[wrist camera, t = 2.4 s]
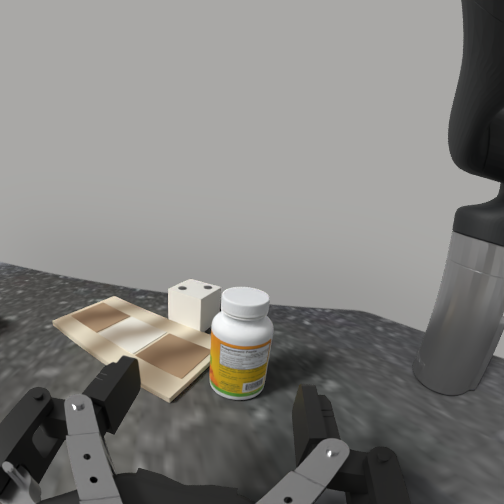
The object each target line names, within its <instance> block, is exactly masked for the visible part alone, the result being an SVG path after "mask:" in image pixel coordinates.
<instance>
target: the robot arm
mask: <svg viewBox="0 0 504 504" xmlns="http://www.w3.org/2000/svg"><path fill="white" fill-rule="evenodd" d="M461 1H462V12H463V32H464V42H463V43H464V44H463V59H462V66H461V71H460V76H459V80H458V85H457V89H456V93H455V97H454V101H453V105H452V110H451V114H450V120H449V129H448V144H449V150H450V154H451V157H452V159H453V161H454V163H455V164H456V165H457V166H458V167H459V168H460V169H462V170H464V171H466V172H468V173H470V174H473V175H477V176H480V177H484V178H487V179H491V180H494V181H497V182H501V184H500V190H499V194H498V196H497V197H496V198H494V199H493V200H491V201H489V202H486V203H482V204H477V205H468V206H463V207H460V208H458V209H457V211H456V213H455V218H454V224H453V231H452V236H451V241H450V246H449V251H448V256H447V260H446V265H445V269H444V273H443V277H442V281H441V285H440V289H439V292H438V296H437V299H436V302H435V306H434V309H433V312H432V315H431V318H430V321H429V324H428V327H427V330H426V332H425V335H424V338H423V341H422V343H421V346H420V348H419V350H418V353H417V356H416V358H415V361H414V363H413V372H414V374H415V376H416V377H417V379H418V380H419V381H420V382H421V383H422V384H423V385H425V386H426V387H428V388H429V389H431V390H433V391H435V392H438V393H441V394H445V395H460V394H463V393H465V392H466V391H468V390H475V389H476V387H477V385H478V383H479V382H480V380H481V378H482V376H483V374H484V372H485V370H486V368H487V366H488V364H489V362H490V360H491V358H492V356H493V353H494V351H495V348H496V347H497V344H498V342H499V339H500V337H501V335H502V332H503V330H504V317H503V313H504V0H461ZM140 387H141V378H140V371H139V362H138V359H136V358H132V357H129V356H125V355H123V356H122V357H121V358H120V359H119V360H118V362H117V363H115V362H112V363H110V364H108V365H106V366H105V367H104V368H103V369H102V370H101V371H100V373H99V374H98V375H97V376H96V378H95V379H94V380H93V381H92V382H91V383H90V385H89V386H88V387H87V388H86V389H85V391H84V392H83V393H82V394H74V395H71V396H69V397H68V398H67V399H66V400H63V399H57V398H52V397H51V395H50V393H49V391H48V390H47V389H45V388H42V387H36V388H32V389H30V390H29V391H28V392H27V393H26V394H25V395H24V397H23V398H22V399H21V400H20V401H19V402H18V403H17V404H16V406H15V407H14V408H13V409H12V410H11V411H10V413H9V414H8V415H7V416H6V417H5V418H4V420H3V421H2V422H1V423H0V504H314V503H315V502H316V501H317V499H318V498H319V497H320V496H321V494H322V493H323V492H324V491H325V489H326V488H328V489H333V490H338V491H344V492H345V493H346V501H347V504H411V502H410V499H409V495H408V492H407V488H406V485H405V481H404V478H403V475H402V472H401V469H400V465H399V462H398V459H397V456H396V454H395V453H394V452H393V451H392V450H391V449H389V448H387V447H375V448H373V449H371V450H370V451H369V453H366V452H359V451H354V450H351V449H349V447H348V446H347V444H346V443H345V442H343V441H341V439H340V436H339V432H338V428H337V424H336V420H335V417H334V413H333V411H332V410H333V409H332V405H331V402H330V401H329V400H328V398H327V397H326V396H325V395H318V393H317V389H316V386H315V385H305V384H300V385H299V388H298V391H297V395H296V398H295V402H294V405H293V410H292V421H293V432H294V444H295V455H296V468H297V469H296V470H294V471H293V470H292V471H290V472H289V473H288V474H287V475H286V476H285V477H284V478H283V479H282V480H281V481H280V482H279V483H278V484H277V485H276V486H275V487H274V488H272V489H271V490H270V491H269V492H268V493H267V494H266V495H265V496H264V497H263V498H261V499H260V500H259V501H258V502H257V503H255V502H254V501H252V500H250V499H249V498H246V497H244V496H241V495H238V494H237V490H238V488H229V487H222V486H215V485H183V484H181V483H179V482H177V481H174V480H172V479H170V478H168V477H166V476H164V475H162V474H158V473H155V472H151V471H148V470H144V469H141V468H138V470H137V473H121V474H117V472H116V470H115V468H114V465H113V462H112V459H111V457H110V454H109V451H108V447H107V444H106V441H105V438H104V435H105V434H106V432H109V433H111V434H115V432H116V431H117V429H118V427H119V426H120V424H121V422H122V420H123V419H124V417H125V415H126V413H127V412H128V410H129V408H130V407H131V405H132V403H133V402H134V400H135V398H136V396H137V395H138V393H139V391H140ZM39 426H40V427H39ZM38 427H39V428H38ZM36 430H37V431H36ZM34 433H35V434H34ZM64 440H66V442H67V447H68V453H69V458H70V463H71V467H72V471H73V476H74V480H75V483H76V487H77V490H74V491H71V492H68V493H65V494H62V495H59V496H55V497H52V498H49V499H45V500H42V501H41V497H40V496H41V488H40V486H39V483H40V481H41V479H42V477H43V476H44V474H45V472H46V470H47V469H48V467H49V465H50V464H51V462H52V460H53V458H54V457H55V455H56V453H57V452H58V450H59V448H60V447H61V445H62V443H63V442H64Z"/></svg>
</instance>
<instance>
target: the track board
mask: <svg viewBox="0 0 504 504" xmlns="http://www.w3.org/2000/svg"><path fill="white" fill-rule="evenodd" d="M52 322H53V325H54V326H55V327H56V328H57V329H59V330H60V331H61V332H62V333H64V334H65V335H66V336H67V337H69V338H70V339H71V340H72V341H74V342H75V343H76V344H78V345H79V346H80V347H82V348H83V349H84V350H86V351H87V352H88V353H90V354H91V355H92V356H94V357H95V358H97V359H98V360H99V361H101V362H102V363H104V364H105V365H108V364H110V363H112V362H115V363H117V362H118V360H119V359H120V358H121V357H122V356H123V355H125V356H129V357H132V358H136V359H138V362H139V371H140V378H141V387H142V388H144V389H145V390H147V391H149V392H150V393H152V394H154V395H156V396H158V397H160V398H161V399H163V400H165V401H167V402H169V403H170V402H171V401H172V400H173V399H175V398H176V397H177V396H178V395H179V394H180V393H181V392H182V391H183V390H184V389H185V388H186V387H188V386H189V385H190V384H191V383H192V382H193V381H194V380H195V379H196V378H197V377H198V376H199V375H200V374H201V373H202V372H203V371H205V370H206V369H207V368H208V367H209V366H210V348H211V335H210V334H207V333H204V332H201V331H198V330H196V329H193V328H190V327H188V326H185V325H182V324H180V323H177V322H175V321H172V320H169V319H167V318H164V317H162V316H159V315H157V314H155V313H152V312H150V311H147V310H145V309H143V308H140V307H138V306H136V305H133V304H131V303H129V302H126V301H124V300H122V299H120V298H118V297H115V296H113V297H111V298H108V299H106V300H103V301H101V302H98V303H96V304H93V305H91V306H88V307H86V308H83V309H81V310H78V311H76V312H73V313H71V314H68V315H66V316H63V317H61V318H58V319H56V320H53V321H52Z"/></svg>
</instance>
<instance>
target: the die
mask: <svg viewBox="0 0 504 504" xmlns="http://www.w3.org/2000/svg"><path fill="white" fill-rule="evenodd" d="M220 298H221V287H219V286H215V285H211V284H207V283H204V282H200V281H197V280H193V279H189V280H187V281H184V282H182V283H180V284H178V285H176V286H173V287H171V288H169V289H168V312H169V320H172V321H175V322H177V323H180V324H182V325H185V326H188V327H190V328H193V329H196V330H198V331H201V332H205V331H206V330H207V329H208V328H210V327H211V326H212V321H213V319H214V317H215V316H216V315H217V314H218V313H219V312H220Z"/></svg>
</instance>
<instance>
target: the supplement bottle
mask: <svg viewBox="0 0 504 504" xmlns="http://www.w3.org/2000/svg"><path fill="white" fill-rule="evenodd" d="M269 301H270V298H269V296H268V295H267V293H265V292H263V291H261V290H258V289H254V288H249V287H233V288H229V289H227V290H225V291H224V292H223V294H222V300H221V312H219V313H218V314H217V315H216V316H215V317H214V319H213V321H212V327H211V348H210V384H211V387H212V388H213V390H214V391H215V392H216V393H217V394H219V395H221V396H223V397H225V398H228V399H232V400H246V399H250V398H253V397H255V396H257V395H258V394H259V393H260V392H261V391H262V390H263V388H264V384H265V379H266V373H267V367H268V361H269V355H270V349H271V342H272V336H273V324H272V322H271V320H270V319H269V318H268V317H267V316H266V315H267V314H268V311H269Z"/></svg>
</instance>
